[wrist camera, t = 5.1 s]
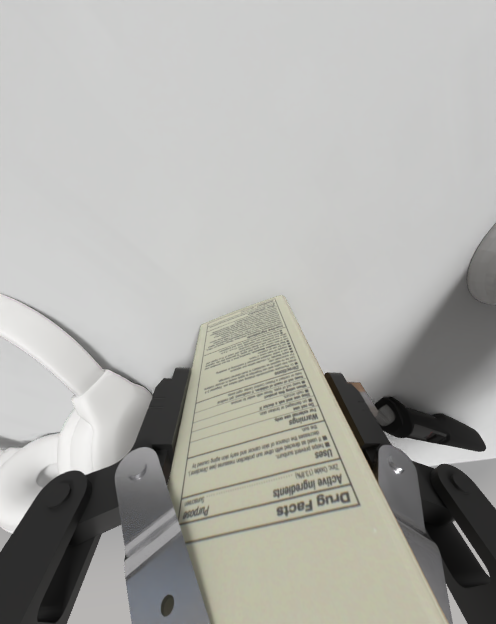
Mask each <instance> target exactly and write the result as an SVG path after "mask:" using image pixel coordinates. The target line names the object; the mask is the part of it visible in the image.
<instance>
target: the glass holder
mask: <svg viewBox="0 0 496 624" xmlns="http://www.w3.org/2000/svg"><path fill="white" fill-rule="evenodd" d="M467 284H468V289H469V291H470V293H471V295H472V296H473V297H474V298H475V299H477V300H478V301H480V302H482V303H486V304H490V305H496V224H495V225H494V226H493V227H492V229H491V230H490V231H489V232H488V234H487V235H486V236H485V237H484V239H483V240H482V242H481V244H480V245H479V247H478V248H477V250H476V252H475V254H474V256H473V258H472V260H471V263H470V266H469V270H468V276H467Z"/></svg>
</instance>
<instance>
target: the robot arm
mask: <svg viewBox="0 0 496 624" xmlns="http://www.w3.org/2000/svg"><path fill="white" fill-rule="evenodd" d="M190 376H191V368H176V369H175V371H174V374H173V377H172V379H167V378H164V379H163V380H162V381H161V382H160V383H159V384H158V386H157V387H156V389H155V391H154V394H153V397H152V400H151V402H150V404H149V408H148V410H147V412H146V415H145V417H144V420H143V423H142V425H141V428H140V431H139V433H138V436H137V438H136V441H135V443H134V445H133V447H132V449H131V450H130V451H129V453H128V454H127V455H126V456H125V457H124V458H123V459H121V460H120V461H118V462H117V463H115V464H113V465H111V466H109V467H106V468H103V469H100V470H98V471H95V472H92V473H89V474H86V475H85V474H84V473H82V472H81V471H77V470H73V471H68V472H65V473H62V474H61V475H59V476H57V477H55V478H54V479H52V480H51V481H50V482H49V483H48V484H47V485H46V486H45V487H44V488H43V489H42V490H41V491H40V492H39V494H38V495H37V496H36V498H35V500H34V501H33V503H32V504H31V506H30V507H29V509H28V510H27V512H26V513H25V515H24V517H23V518H22V520H21V521H20V523H19V524H18V526H17V527H16V529H15V530H14V532H13V534H12V535H11V537H10V538H9V540H8V542H7V543H6V544H5V546H4V548H3V549H2V551H1V552H0V624H67V621H68V619H69V616H70V614H71V611H72V609H73V606H74V603H75V601H76V598H77V596H78V593H79V591H80V588H81V586H82V583H83V580H84V578H85V575H86V573H87V570H88V568H89V565H90V562H91V560H92V557H93V555H94V552H95V550H96V547H97V545H98V542H99V539H100V537H101V534H102V533H104V532H106V531H108V530H110V529H113V528H115V527H117V526H119V525H122V532H123V538H124V545H125V560H124V566H125V567H124V568H125V579H126V586H127V593H128V600H129V607H130V614H131V621H132V624H210V621H209V617H208V614H207V611H206V608H205V605H204V601H203V598H202V595H201V592H200V589H199V586H198V582H197V579H196V576H195V573H194V570H193V566H192V563H191V560H190V557H189V554H188V550H187V547H186V544H185V541H184V538H183V534H182V531H181V528H180V525H179V522H178V519H177V516H176V513H175V510H174V507H173V503H172V500H171V497H170V494H169V491H168V487H167V484H168V480H169V475H170V472H171V467H172V462H173V457H174V452H175V447H176V442H177V438H178V433H179V428H180V423H181V419H182V414H183V409H184V404H185V399H186V394H187V390H188V385H189V380H190ZM324 376H325V378H326V380H327V382H328V384H329V386H330V388H331V390H332V392H333V394H334V396H335V398H336V400H337V402H338V404H339V406H340V408H341V410H342V412H343V414H344V416H345V418H346V420H347V422H348V424H349V426H350V428H351V430H352V432H353V434H354V436H355V438H356V440H357V442H358V444H359V446H360V448H361V450H362V452H363V454H364V456H365V458H366V460H367V462H368V464H369V466H370V468H371V470H372V472H373V474H374V476H375V478H376V480H377V482H378V484H379V486H380V488H381V490H382V492H383V494H384V496H385V498H386V500H387V502H388V504H389V506H390V508H391V510H392V512H393V514H394V516H395V518H396V520H397V522H398V524H399V526H400V528H401V530H402V532H403V534H404V536H405V538H406V540H407V542H408V544H409V546H410V548H411V550H412V552H413V554H414V556H415V558H416V560H417V562H418V564H419V566H420V568H421V570H422V572H423V574H424V576H425V578H426V580H427V582H428V584H429V586H430V588H431V590H432V592H433V594H434V595H435V597H436V599H437V601H438V603H439V605H440V607H441V609H442V611H443V613H444V615H445V617H446V619H447V621H448V623H449V624H453V622H452V617H451V611H450V606H449V600H448V594H447V588H446V584H447V586H448V588H449V590H450V592H451V593H452V595H453V597H454V599H455V601H456V603H457V605H458V606H459V608H460V610H461V612H462V614H463V616H464V617H465V619H466V621H467V623H468V624H496V509H495V508H494V507H493V505H491V503H490V502H489V501H488V499H487V498H486V497H485V496H484V494H483V493H482V492H481V491H480V489H479V488H478V487H477V486H476V484H475V483H474V482H473V481H472V480H471V479H470V478H469V477H468V476H467V475H466V474H465V473H463V472H462V471H461V470H459V469H457V468H456V467H453V466H451V465H448V464H441V465H439V466H438V467H437V468H435V469H434V468H431V467H428V466H425V465H422V464H420V463H417V462H414V461H411V460H410V458H409V457H408V456H407V455H406V454H405V453H404V452H402V451H401V450H400V449H398V448H396V447H394V446H392V445H391V443H390V442H389V440H388V439H387V437H386V435H385V434H384V432H383V430H382V429H381V427H380V425H379V424H378V422H377V420H376V419H375V417H374V415H373V414H372V412H371V411H370V408H369V407H368V405H367V403H365V400H364V398H363V397H362V395H361V393H360V392H359V391H358V390H357V389H356V388H355V387H354V386H353V385H352V384H351V383H347V381H346V380H345V378H344V376H343V375H342V374H341V373H328V372H327V373H325V375H324ZM453 521H456V522H457V524H458V525H459V527H460V528H461V530H462V531H463V533H464V534H465V535H466V537H467V538H468V540H469V542H470V543H471V545H472V546H473V548H474V549H475V551H476V552H477V554H478V555H479V557H480V558H481V559H482V561H483V563H484V564H485V566H486V568H487V569H488V572H489V574H490V577H489V576H488V575H487V574H486V573H485V571H484V570H483V569H482V567H481V566H480V564H479V562H478V561H477V559H476V558H475V556H474V555H473V553H472V552H471V550H470V549H469V547H468V546H467V544H466V542H465V541H464V540H463V538H462V536H461V535H460V533H459V532H458V530H457V529H456V527H455V526H454V524H453V523H452V522H453ZM170 597H173V599H174V606H173V610H172V612H171V613H170V614H169V615H168V616H166V617H165V615H164V605H165V603H166V601H167V600H168V599H169V598H170Z"/></svg>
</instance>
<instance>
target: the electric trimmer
mask: <svg viewBox="0 0 496 624" xmlns="http://www.w3.org/2000/svg"><path fill="white" fill-rule="evenodd" d="M375 407H376V408H377V410H378V412H379V413H378V414H377V415H376V417H375V419H376V420H377V422H378V424H379V425H380V427H381V429H382V430H383V431H385V432H387V433H389V434H391V435H393V436H395V437H398V438H405V437H407V438H411V439H416V440H421V441H426V442H431V443H437V444H442V445H448V446H453V447H458V448H463V449H468V450H473V451H478V452H481V451H485V449H486V446H485V443H484V442H483V440H482V438H481V437H480V435H479V434H478V432H477V431H475V430H474V429H472V428H471V427H469V426H467V425H465V424H463V423H461V422H459V421H457V420H455V419H453V418H451V417H449V416H446V415H444V414H436V415H432V416H431V415H428V414H425V413H422V412H418V411H415V410H412V409H409V408H406V407H405V406H404V405H403V404H401V403H400V402H399V401H397V400H396V399H394V398H392V397H389V398H382V399H381V400H379V401H378V402H377V403H376V404H375Z"/></svg>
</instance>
